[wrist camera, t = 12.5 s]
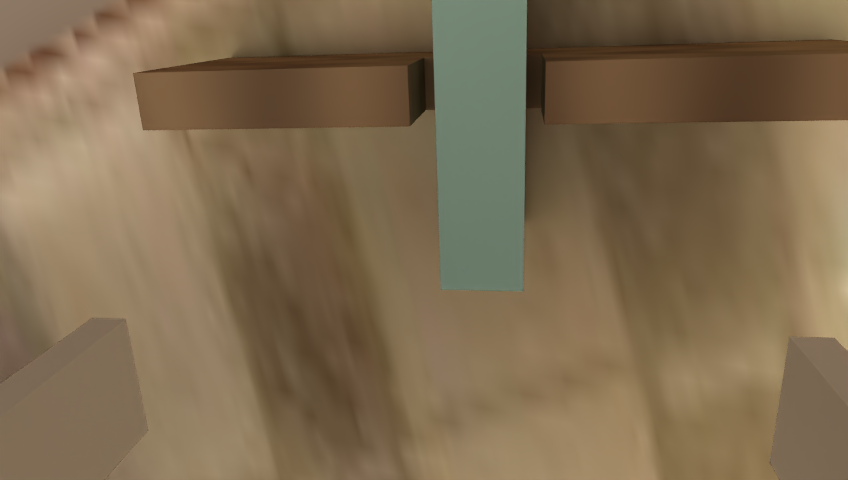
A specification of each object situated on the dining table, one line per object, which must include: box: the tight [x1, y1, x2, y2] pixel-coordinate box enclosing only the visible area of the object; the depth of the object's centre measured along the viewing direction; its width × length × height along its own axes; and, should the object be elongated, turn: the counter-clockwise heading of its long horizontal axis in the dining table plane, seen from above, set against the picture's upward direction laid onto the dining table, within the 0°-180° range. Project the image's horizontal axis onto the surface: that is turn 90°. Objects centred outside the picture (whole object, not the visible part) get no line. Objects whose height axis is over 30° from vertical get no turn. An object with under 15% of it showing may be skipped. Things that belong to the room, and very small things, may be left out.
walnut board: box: [133, 40, 848, 130], centre depth 25 cm, size 26×2×8 cm, turn 92°
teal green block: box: [432, 0, 527, 291], centre depth 25 cm, size 3×14×8 cm, turn 2°
